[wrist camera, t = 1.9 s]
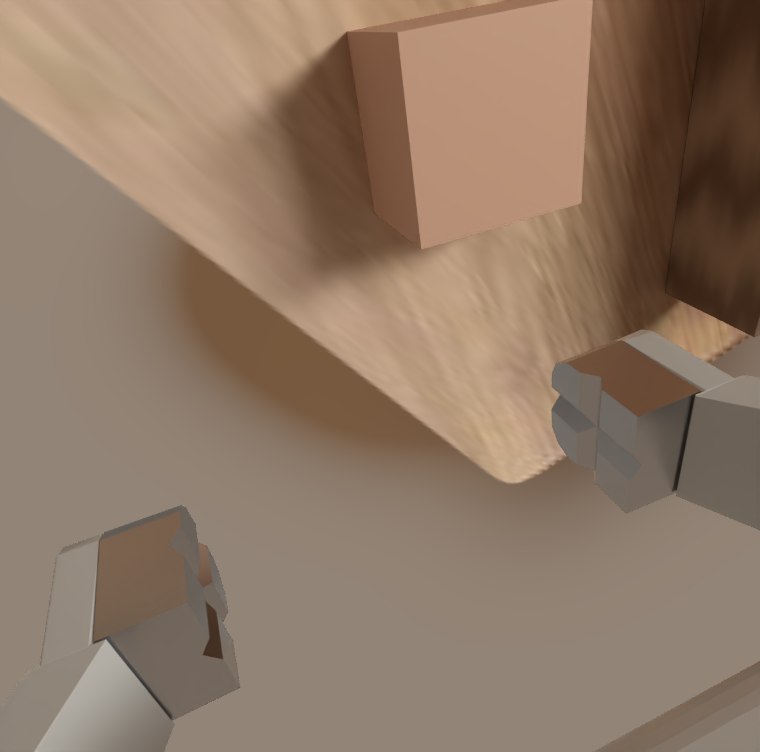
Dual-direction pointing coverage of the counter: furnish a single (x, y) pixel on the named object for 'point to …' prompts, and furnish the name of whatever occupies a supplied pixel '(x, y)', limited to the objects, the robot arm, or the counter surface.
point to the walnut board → (722, 173)
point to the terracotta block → (474, 115)
